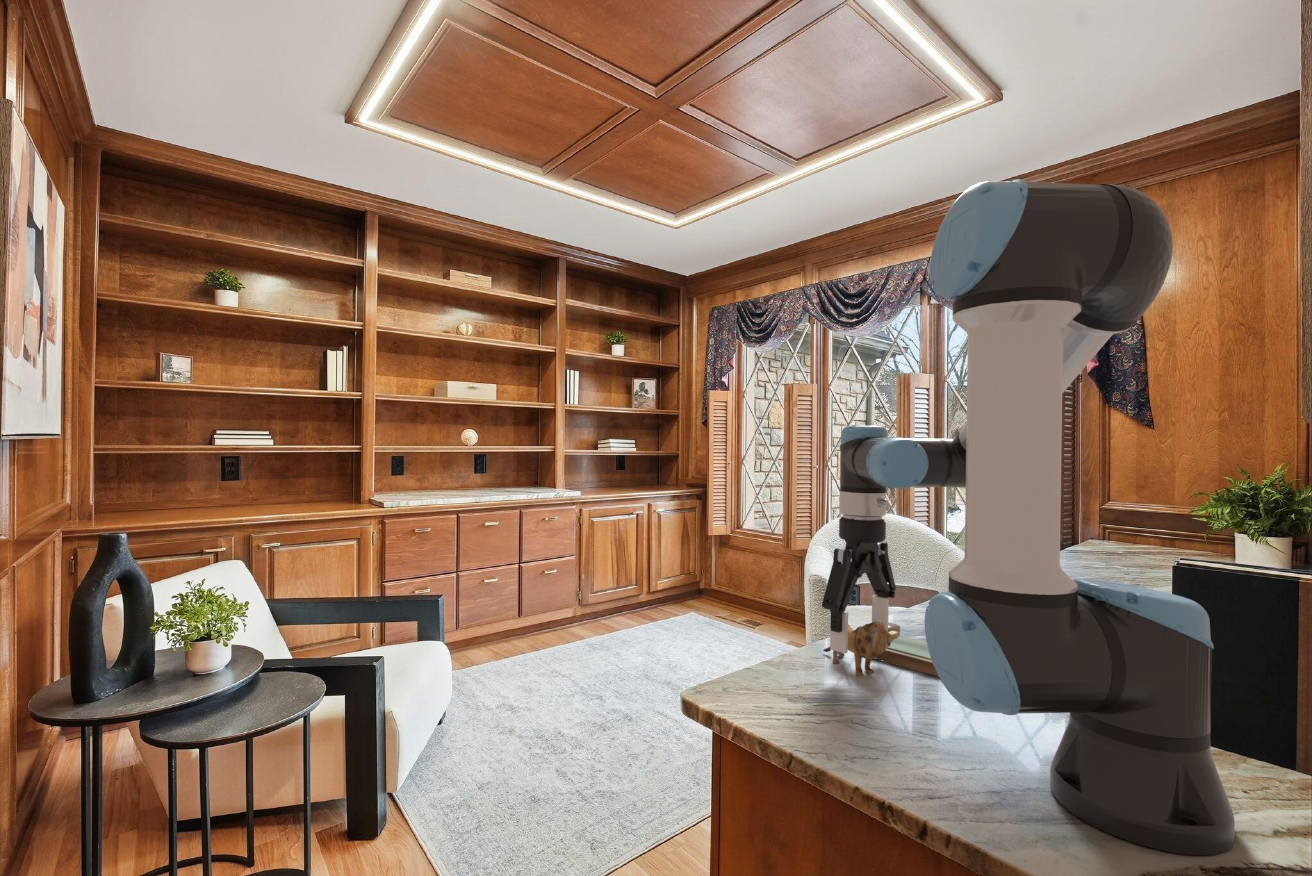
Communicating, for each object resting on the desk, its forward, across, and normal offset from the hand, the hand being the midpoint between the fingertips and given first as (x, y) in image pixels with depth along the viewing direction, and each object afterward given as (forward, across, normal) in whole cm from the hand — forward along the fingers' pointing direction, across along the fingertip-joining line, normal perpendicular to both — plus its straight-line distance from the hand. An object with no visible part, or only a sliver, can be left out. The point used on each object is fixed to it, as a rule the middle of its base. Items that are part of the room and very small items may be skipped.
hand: (860, 642), depth 106 cm
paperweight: (+5, +19, +5) cm, 20 cm away
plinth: (+4, +12, -8) cm, 15 cm away
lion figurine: (+5, 0, +1) cm, 5 cm away
